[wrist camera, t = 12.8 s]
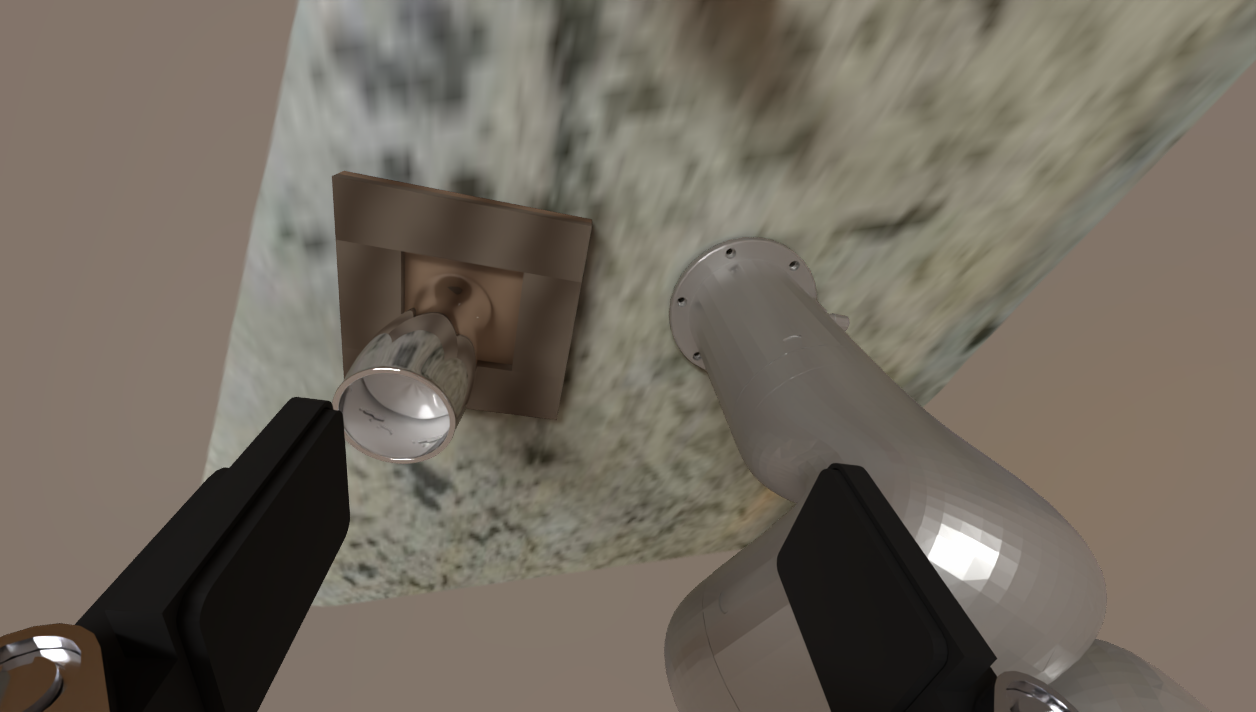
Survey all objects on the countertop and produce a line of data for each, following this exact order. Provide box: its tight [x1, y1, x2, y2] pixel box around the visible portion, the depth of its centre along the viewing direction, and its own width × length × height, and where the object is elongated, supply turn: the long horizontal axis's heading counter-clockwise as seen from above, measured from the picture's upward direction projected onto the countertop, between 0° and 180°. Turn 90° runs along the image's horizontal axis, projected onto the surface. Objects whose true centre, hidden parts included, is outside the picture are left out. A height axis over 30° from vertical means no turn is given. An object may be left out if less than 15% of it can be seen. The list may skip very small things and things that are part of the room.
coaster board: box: [332, 171, 592, 420], centre depth 41 cm, size 18×18×2 cm
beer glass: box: [332, 273, 492, 464], centre depth 35 cm, size 7×7×15 cm
